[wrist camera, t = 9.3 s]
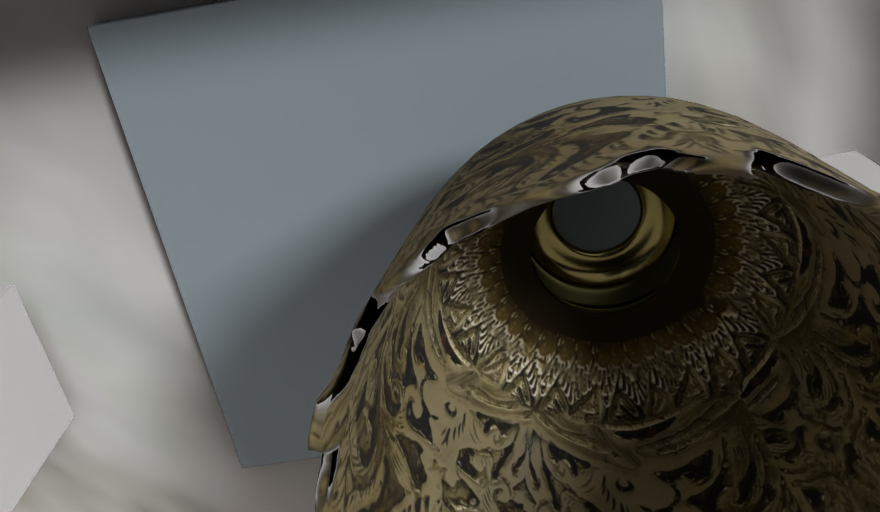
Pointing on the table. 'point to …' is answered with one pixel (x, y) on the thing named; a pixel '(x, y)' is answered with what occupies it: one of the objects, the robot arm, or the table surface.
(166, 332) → the table surface
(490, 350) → the cup
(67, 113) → the table surface
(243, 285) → the mat
